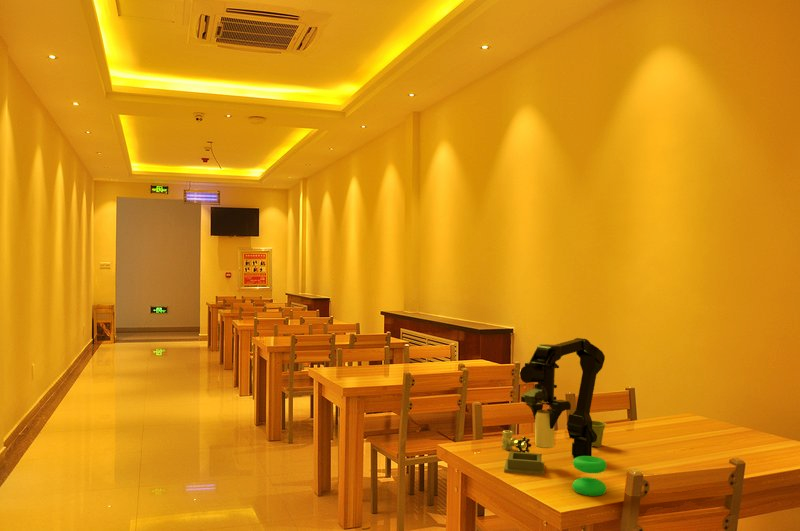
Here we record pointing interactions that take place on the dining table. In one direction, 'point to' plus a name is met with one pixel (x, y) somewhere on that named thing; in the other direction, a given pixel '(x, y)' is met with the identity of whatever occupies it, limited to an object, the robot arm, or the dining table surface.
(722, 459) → the dining table surface
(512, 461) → the socket holder
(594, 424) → the plant pot
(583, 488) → the donuts
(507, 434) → the valve
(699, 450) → the dining table surface
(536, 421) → the can
